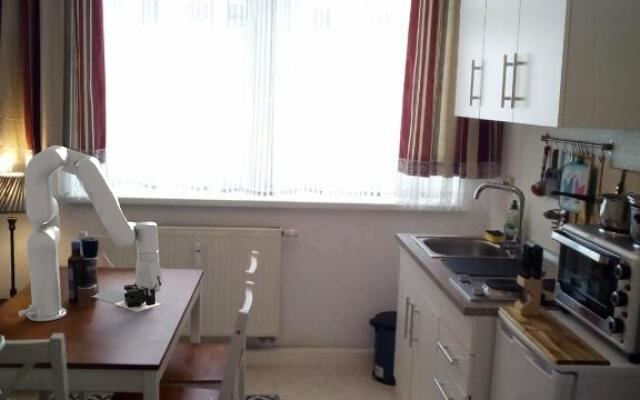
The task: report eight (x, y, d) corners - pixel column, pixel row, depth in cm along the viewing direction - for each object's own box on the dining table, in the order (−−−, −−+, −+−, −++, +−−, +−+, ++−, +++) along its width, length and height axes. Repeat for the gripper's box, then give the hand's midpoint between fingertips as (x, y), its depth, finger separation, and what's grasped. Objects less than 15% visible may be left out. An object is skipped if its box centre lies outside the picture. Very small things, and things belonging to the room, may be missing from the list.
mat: (113, 304, 249) (113, 303, 249) (89, 295, 259) (89, 295, 259) (138, 297, 258) (138, 296, 258) (113, 289, 267) (113, 289, 267)
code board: (136, 311, 240) (136, 311, 240) (113, 304, 249) (113, 303, 249) (161, 304, 249) (161, 304, 249) (138, 297, 258) (138, 296, 258)
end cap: (147, 305, 247) (147, 288, 246) (128, 308, 244) (127, 290, 243) (143, 298, 256) (142, 281, 255) (124, 300, 253) (123, 283, 252)
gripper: (127, 254, 243) (129, 303, 246) (152, 261, 234) (154, 311, 237) (144, 251, 249) (146, 298, 252) (169, 257, 240) (171, 306, 243)
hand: (150, 304), depth 245 cm, fingers closed
